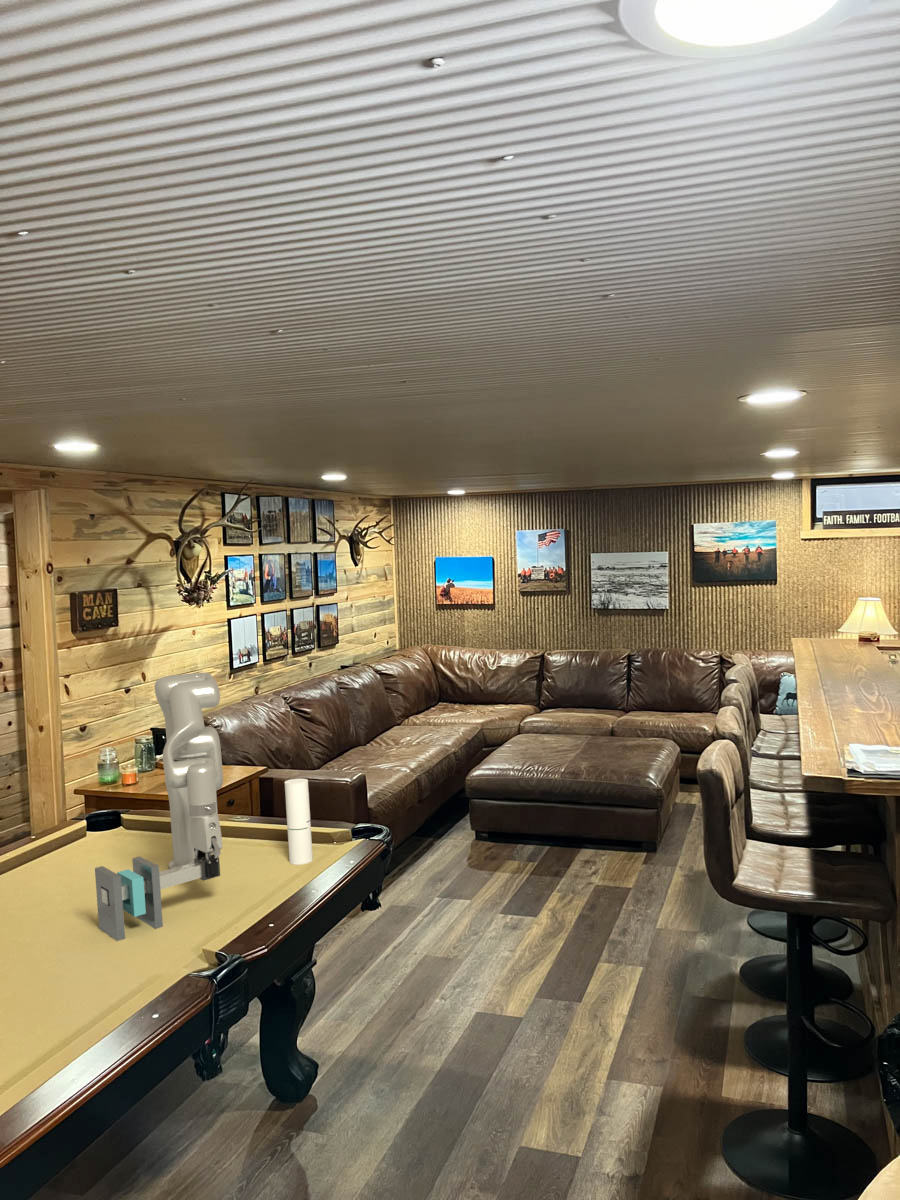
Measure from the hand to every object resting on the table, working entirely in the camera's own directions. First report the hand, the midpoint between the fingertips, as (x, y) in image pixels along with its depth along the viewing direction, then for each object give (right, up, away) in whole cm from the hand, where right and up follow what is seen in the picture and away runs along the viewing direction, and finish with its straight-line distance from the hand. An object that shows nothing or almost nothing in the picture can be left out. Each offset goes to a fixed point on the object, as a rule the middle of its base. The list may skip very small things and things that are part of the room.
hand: (207, 873), depth 254 cm
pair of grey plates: (-16, -10, -15) cm, 24 cm away
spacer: (-16, -5, -14) cm, 22 cm away
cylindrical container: (+20, -6, +33) cm, 39 cm away
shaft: (-10, -2, -9) cm, 13 cm away
